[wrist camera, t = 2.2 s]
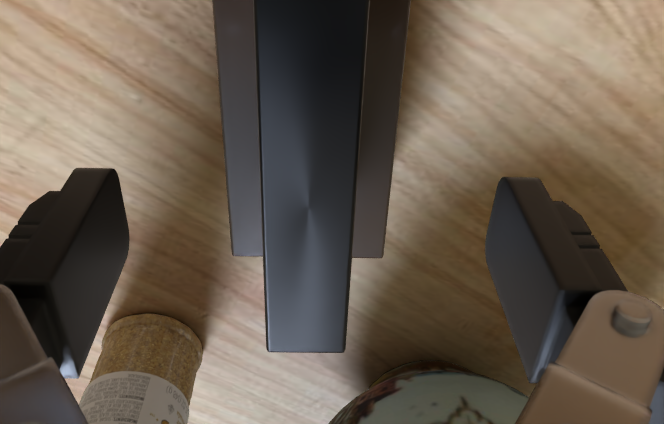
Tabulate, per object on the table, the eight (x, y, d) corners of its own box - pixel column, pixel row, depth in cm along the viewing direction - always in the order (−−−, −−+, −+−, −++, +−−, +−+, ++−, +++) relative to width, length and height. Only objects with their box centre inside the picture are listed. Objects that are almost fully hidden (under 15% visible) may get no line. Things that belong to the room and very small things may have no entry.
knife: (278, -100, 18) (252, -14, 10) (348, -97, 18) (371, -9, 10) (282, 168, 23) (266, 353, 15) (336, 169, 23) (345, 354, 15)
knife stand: (224, -141, 17) (202, -123, 14) (403, -135, 17) (424, -115, 14) (243, 190, 23) (231, 257, 20) (373, 192, 23) (383, 259, 20)
